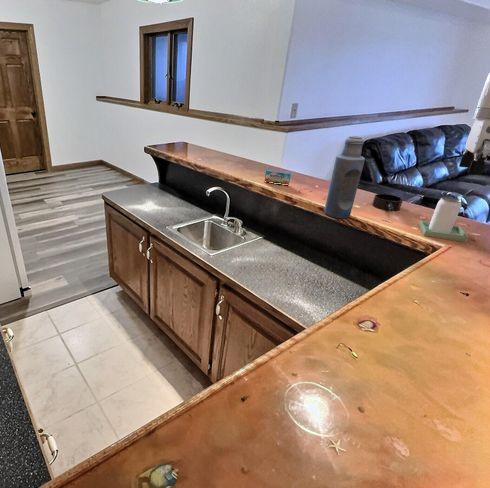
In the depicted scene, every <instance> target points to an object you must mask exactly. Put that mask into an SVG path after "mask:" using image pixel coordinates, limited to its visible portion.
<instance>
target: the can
mask: <svg viewBox="0 0 490 488" xmlns="http://www.w3.org/2000/svg"><path fill="white" fill-rule="evenodd" d="M461 209H462V200H461V199H459V198H457V197H452V196H441V197H440V199H439V200H438V202H437V204H436V206H435V208H434V211H433V213H432V217H431V219H430V221H429V222H430V225H429V227H428V229H429V231H434V232H441V233H447V234H450V232H451V230H452V228H453V225H455V223H456V221H457V218H458V215H459V213H460V211H461Z"/></svg>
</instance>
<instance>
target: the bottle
mask: <svg viewBox="0 0 490 488" xmlns="http://www.w3.org/2000/svg"><path fill="white" fill-rule="evenodd" d="M364 142H365V141H364V139H363V138H362V136H358V135H349V136H348V137H347V138H346V139H345V141H344V146H343V148H342V151H341V153H340V154H336V156H335V159H334V166H333V169H332V174H331V178H330V183H329V187H328V191H327V197H326V200H325V201H326V202H325V206H324V209H323V213H324V215H327V216H329V217H331V218H334V219H335V218H336V219H348V218H349V217H350V216H351V214H352V209H353V206H354V203H355V198H356V195H357V191H358V187H359V184H360V179H361V176H362V172H363V168H364V165H365V160H366V157H364V156H362V152H363V151H362V149H363V145H364Z"/></svg>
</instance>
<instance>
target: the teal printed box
mask: <svg viewBox="0 0 490 488" xmlns="http://www.w3.org/2000/svg"><path fill="white" fill-rule="evenodd" d="M291 176H292V173H290V172H283V171H276V170H270V169H269V170H266V171H265V175H264V181H266V182H273V183H281V184H288V185H289V186H290V183H291ZM268 184H270V183H268ZM275 185H276V186H278V185H277V184H275Z"/></svg>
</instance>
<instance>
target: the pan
mask: <svg viewBox="0 0 490 488" xmlns="http://www.w3.org/2000/svg"><path fill="white" fill-rule="evenodd" d="M403 199H404V198H403V197H401V196H398V195H395V194H390V193H376V194H375V195H374V196H373V200H372V203H371V204H372V207H374V208H376V209H378V210H383V211H389V212H397V211H400V210H401V207H402V205H403V201H404V200H403Z"/></svg>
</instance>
